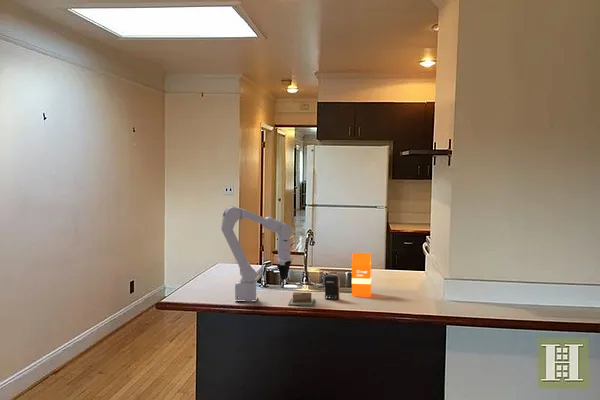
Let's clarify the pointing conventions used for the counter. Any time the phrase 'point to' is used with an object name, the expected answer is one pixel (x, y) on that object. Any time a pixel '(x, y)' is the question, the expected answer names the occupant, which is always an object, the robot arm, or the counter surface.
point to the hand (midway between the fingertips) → (284, 278)
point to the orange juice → (361, 274)
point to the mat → (302, 303)
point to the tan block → (301, 297)
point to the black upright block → (332, 287)
